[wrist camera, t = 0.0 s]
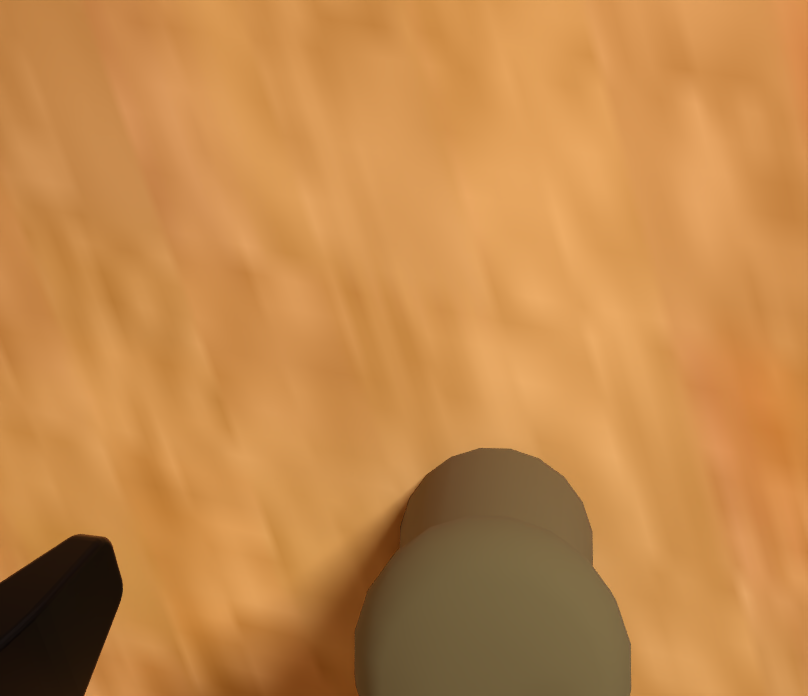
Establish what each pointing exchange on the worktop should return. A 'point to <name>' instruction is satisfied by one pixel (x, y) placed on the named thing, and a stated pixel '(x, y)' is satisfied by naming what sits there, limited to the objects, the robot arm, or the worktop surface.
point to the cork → (492, 591)
